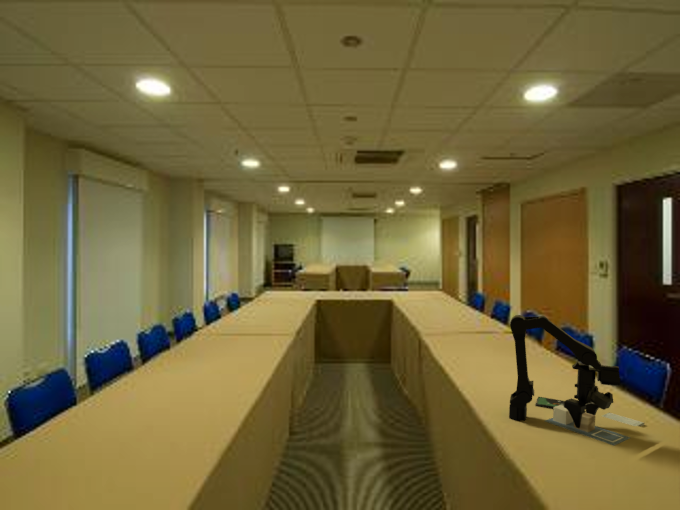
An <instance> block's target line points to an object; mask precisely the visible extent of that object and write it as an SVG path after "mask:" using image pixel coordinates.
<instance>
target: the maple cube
mask: <svg viewBox="0 0 680 510" xmlns="http://www.w3.org/2000/svg"><path fill="white" fill-rule="evenodd" d="M595 426H596V415H592V414H589V413H586V412H585V413H584V414H582V419H581V425H580V428H577V427H576V426H575V423H574V428H576V429H579V430H582V431H585V432H590V431H592V430H595Z"/></svg>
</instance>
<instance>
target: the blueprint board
mask: <svg viewBox="0 0 680 510" xmlns="http://www.w3.org/2000/svg"><path fill="white" fill-rule="evenodd" d="M544 422H546V423H549V424H551V425H554V426H556V427H560V428H562V429H566V430H569V431H571V432H574V433H577V434H580V435H583V436H585V437H588V438H590V439H594V440H597V441H599V442H603V443H606V444H608V445H611V446H613V447H614V446H616V445H620V444H621V443H623V442H625V441H627V440H629V439H631V438H632V437H630V436H628V435H624V434H621V433H618V432H615V431H613V430H608V429H606V428H603V427H600V426H596V425H595V430H592V431H590V432H585V431H582V430H579V429H576V428H574V421H573V422H572V423H569V424H567V425H565V424H562V423H559V422H556V421H553V417H551V418H549V419H545V420H544Z"/></svg>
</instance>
